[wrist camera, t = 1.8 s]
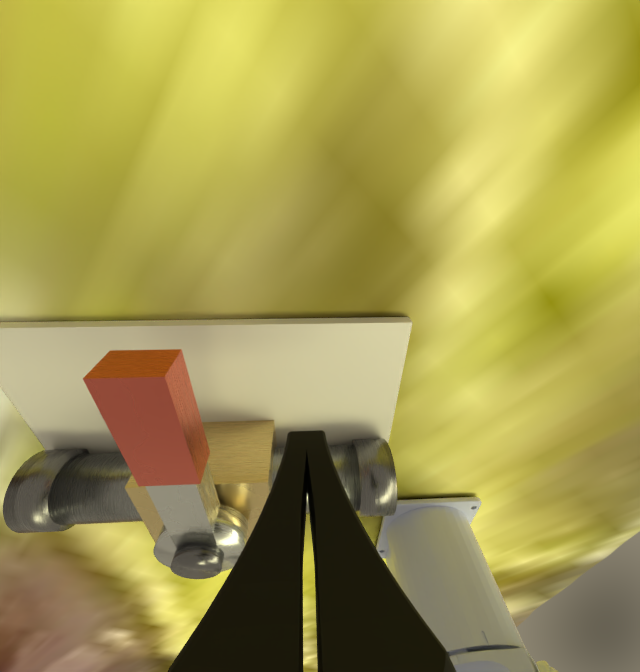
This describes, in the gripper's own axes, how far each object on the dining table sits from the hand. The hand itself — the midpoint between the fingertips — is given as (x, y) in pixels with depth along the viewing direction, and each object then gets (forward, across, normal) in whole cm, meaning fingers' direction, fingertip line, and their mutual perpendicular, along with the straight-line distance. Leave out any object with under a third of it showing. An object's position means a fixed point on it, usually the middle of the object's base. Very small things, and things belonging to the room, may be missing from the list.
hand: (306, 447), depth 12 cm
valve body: (+6, +6, +8) cm, 11 cm away
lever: (+1, +6, +3) cm, 6 cm away
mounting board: (+6, +6, +6) cm, 10 cm away
